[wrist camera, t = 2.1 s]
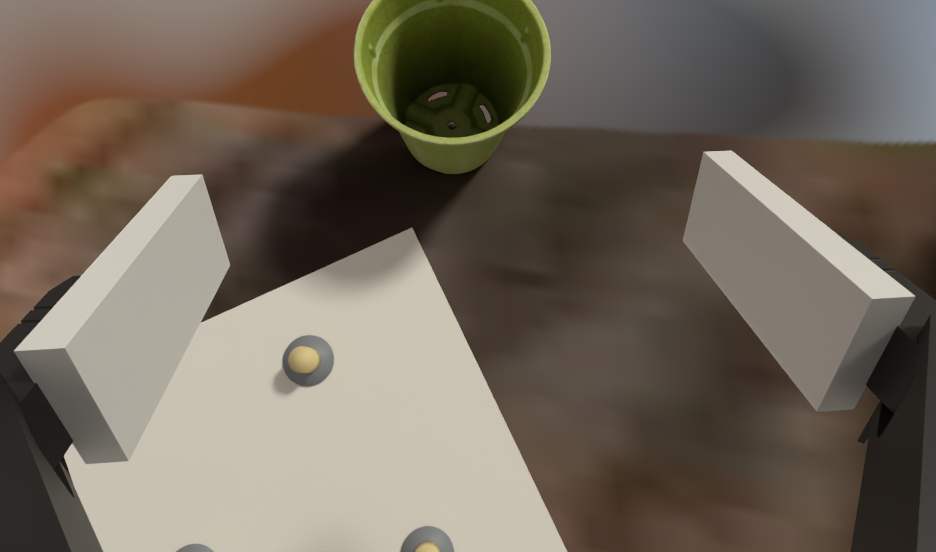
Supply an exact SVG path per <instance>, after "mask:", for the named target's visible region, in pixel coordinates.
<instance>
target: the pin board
mask: <svg viewBox="0 0 936 552" xmlns="http://www.w3.org/2000/svg"><path fill="white" fill-rule="evenodd" d="M64 458H65V461H66V464H67V467H68V470H69V473H70V476H71V479H72V481H73V484H74V487H75V490H76V492H77V494H78V496H79V498H80V501H81V503H82V505H83V507H84V510H85V512H86V514H87V516H88V519H89V521H90V523H91V525H92V528H93V530H94V532H95V534H96V536H97V539H98V541H99V543H100V545H101V548H102V550H103V552H567V550H566V548H565V546H564V544H563V542H562V540H561V538H560V536H559V534H558V531H557V529H556V527H555V525H554V523H553V521H552V519H551V517H550V515H549V513H548V511H547V508H546V506H545V504H544V502H543V500H542V498H541V496H540V494H539V492H538V490H537V488H536V485H535V483H534V481H533V479H532V477H531V475H530V473H529V471H528V469H527V467H526V465H525V462H524V460H523V458H522V456H521V454H520V452H519V450H518V448H517V446H516V444H515V442H514V439H513V437H512V435H511V433H510V431H509V429H508V427H507V425H506V423H505V421H504V419H503V416H502V414H501V412H500V410H499V408H498V406H497V404H496V402H495V400H494V398H493V396H492V393H491V391H490V389H489V387H488V385H487V383H486V381H485V379H484V377H483V375H482V373H481V370H480V368H479V366H478V364H477V362H476V360H475V358H474V356H473V354H472V352H471V350H470V347H469V345H468V343H467V341H466V339H465V337H464V335H463V333H462V331H461V329H460V327H459V324H458V322H457V320H456V318H455V316H454V314H453V312H452V310H451V308H450V306H449V304H448V301H447V299H446V297H445V295H444V293H443V291H442V289H441V287H440V285H439V283H438V281H437V278H436V276H435V274H434V272H433V270H432V268H431V266H430V264H429V262H428V260H427V258H426V255H425V253H424V251H423V249H422V247H421V245H420V243H419V241H418V239H417V237H416V235H415V232H414V230H413V228H410V229H408V230H405V231H403V232H401V233H399V234H397V235H394V236H392V237H390V238H388V239H385V240H383V241H381V242H379V243H377V244H374V245H372V246H370V247H368V248H366V249H363V250H361V251H359V252H357V253H355V254H352V255H350V256H348V257H346V258H344V259H341V260H339V261H337V262H335V263H332V264H330V265H328V266H326V267H324V268H321V269H319V270H317V271H315V272H313V273H310V274H308V275H306V276H304V277H302V278H299V279H297V280H295V281H293V282H290V283H288V284H286V285H284V286H282V287H279V288H277V289H275V290H273V291H271V292H268V293H266V294H264V295H262V296H260V297H257V298H255V299H253V300H251V301H248V302H246V303H244V304H242V305H240V306H237V307H235V308H233V309H231V310H229V311H226V312H224V313H222V314H220V315H218V316H215V317H213V318H211V319H209V320H206V321H204V322H202V323H200V324H199V326H198V328H197V330H196V332H195V334H194V336H193V338H192V340H191V342H190V344H189V346H188V348H187V350H186V352H185V353H184V355H183V357H182V359H181V361H180V363H179V365H178V367H177V369H176V371H175V373H174V375H173V377H172V379H171V381H170V382H169V384H168V386H167V388H166V390H165V392H164V394H163V396H162V398H161V400H160V402H159V404H158V406H157V408H156V410H155V411H154V413H153V415H152V417H151V419H150V421H149V423H148V425H147V427H146V429H145V431H144V433H143V435H142V437H141V439H140V440H139V442H138V444H137V446H136V448H135V450H134V452H133V454H132V456H131V458H130V460H129V461H124V462H110V463H96V464H85V462H84V461H83V459H82V458H81V456H80V455H79V453H78V451H77V450H76V448H75V447H74V445H73V444H71V446H70V447H69V449H68V450H67V452H66V453H65V455H64Z"/></svg>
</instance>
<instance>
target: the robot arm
mask: <svg viewBox="0 0 936 552" xmlns="http://www.w3.org/2000/svg"><path fill="white" fill-rule="evenodd" d="M683 242H684V243H685V244H686V246H687V247H688V248H689V249H690V251H691V252H692V253H693V254H694V256H695V257H696V258H697V260H698V261H699V262H700V263H701V265H702V266H703V267H704V269H705V270H706V271H707V272H708V274H709V275H710V276H711V277H712V279H713V280H714V281H715V283H716V284H717V285H718V286H719V288H720V289H721V290H722V291H723V293H724V294H725V295H726V297H727V298H728V299H729V300H730V302H731V303H732V304H733V305H734V307H735V308H736V309H737V311H738V312H739V313H740V314H741V316H742V317H743V318H744V320H745V321H746V322H747V323H748V325H749V326H750V327H751V328H752V330H753V331H754V332H755V334H756V335H757V336H758V337H759V339H760V340H761V341H762V342H763V344H764V345H765V346H766V348H767V349H768V350H769V351H770V353H771V354H772V355H773V357H774V358H775V359H776V360H777V362H778V363H779V364H780V365H781V367H782V368H783V369H784V371H785V372H786V373H787V374H788V376H789V377H790V378H791V379H792V381H793V382H794V383H795V385H796V386H797V387H798V388H799V390H800V391H801V392H802V394H803V395H804V396H805V397H806V399H807V400H808V401H809V402H810V404H811V405H812V406H813V408H814V409H815V410H816V411H817V412H822V411H836V410H850V409H855V407H856V405H857V403H858V401H859V400H860V398H861V396H862V394H863V392H864V390H865V389H866V387H867V386H868V388H869V389H870V390H871V391H872V392H873V393H874V394H875V395H876V396H877V397H878V398H879V399H880V400H881V401H880V403H879V404H878V406H877V408H876V409H875V411H874V413H873V415H872V416H871V418H870V420H869V422H868V423H867V425H866V427H865V429H864V430H863V432H862V434H861V436H860V437H859V439H858V442H861V443H863V444H864V443H865V441H866V440H867V439H868V437H869V440H868V446H867V453H866V459H865V465H864V471H863V478H862V484H861V490H860V497H859V503H858V509H857V516H856V522H855V528H854V535H853V541H852V547H851V552H936V300H934V299H933V298H932V297H931V296H929V295H928V294H927V293H925V292H924V291H923V290H921V289H920V288H919V287H917V286H916V285H915V284H914V283H912V282H911V281H910V280H908V279H907V278H906V277H904V276H903V275H902V274H901V273H899V272H898V271H894V268H893V267H891V266H890V265H889V264H888V263H886V262H885V261H884V260H880V257H878V256H877V255H876V254H875V253H873V252H872V251H871V250H869V249H868V248H867V247H865V246H864V245H863V244H861V243H859V242H857V241H854V240H852V239H850V238H848V237H846V236H844V235H842V234H839V233H835V232H834V231H832V230H831V229H830V228H829V227H827V226H826V225H825V224H824V223H822V222H821V221H820V220H818V219H817V218H816V217H815V216H813V215H812V214H811V213H810V212H808V211H807V210H806V209H805V208H803V207H802V206H801V205H800V204H798V203H797V202H796V201H794V200H793V199H792V198H791V197H789V196H788V195H787V194H786V193H784V192H783V191H782V190H781V189H779V188H778V187H777V186H775V185H774V184H773V183H772V182H770V181H769V180H768V179H767V178H765V177H764V176H763V175H762V174H760V173H759V172H758V171H757V170H755V169H754V168H753V167H751V166H750V165H749V164H748V163H746V162H745V161H744V160H743V159H741V158H740V157H739V156H738V155H736V154H735V153H734V152H732V151H712V152H703V156H702V161H701V165H700V169H699V174H698V178H697V182H696V186H695V191H694V195H693V199H692V203H691V208H690V212H689V216H688V221H687V225H686V229H685V233H684V238H683ZM229 266H230V263H229V260H228V257H227V253H226V250H225V247H224V244H223V240H222V237H221V234H220V231H219V227H218V224H217V221H216V218H215V214H214V211H213V208H212V205H211V201H210V198H209V195H208V192H207V188H206V185H205V182H204V179H203V175H182V176H171V177H170V178H169V179H168V180H167V181H166V183H165V184H164V185H163V186H162V187H161V188H160V189H159V190H158V191H157V193H156V194H155V195H154V196H153V197H152V198H151V199H150V200H149V201H148V203H147V204H146V205H145V206H144V207H143V208H142V209H141V210H140V211H139V212H138V214H137V215H136V216H135V217H134V218H133V219H132V220H131V221H130V222H129V224H128V225H127V226H126V227H125V228H124V229H123V230H122V231H121V232H120V234H119V235H118V236H117V237H116V238H115V239H114V240H113V241H112V242H111V244H110V245H109V246H108V247H107V248H106V249H105V250H104V251H103V252H102V254H101V255H100V256H99V257H98V258H97V259H96V260H95V261H94V262H93V264H92V265H91V266H90V267H89V268H88V269H87V270H86V271H85V272H84V274H83V275H82V276H72V277H71V278H69V279H68V280H66V281H64V282H63V283H61V284H60V285H58V286H56V287H55V288H53V289H52V290H50V291H49V292H48V293H47V294H46V295H45V296H44V297H43V298H42V299H41V300H40V301H39V302H38V303H37V304H36V306H35V307H34V310H31V311H30V312H29V313H28V314H27V315H26V316H25V317H24V318H23V319H22V320H21V324H17V326H16V327H15V328H14V329H13V330H12V331H11V332H10V333H9V334H8V335H7V336H6V337H5V338H4V339H3V340H2V341H1V342H0V552H103V550H102V548H101V545H100V543H99V541H98V539H97V536H96V534H95V532H94V530H93V528H92V525H91V523H90V521H89V519H88V516H87V514H86V512H85V510H84V507H83V505H82V503H81V501H80V498H79V496H78V494H77V492H76V490H75V487H74V485H73V483H72V481H71V478H70V476H69V474H68V472H67V471H66V469H65V468H64V466H63V465H62V463H61V462H60V461H61V460H62V458H63V457H64V455H65V453H66V452H67V450H68V449H69V447H70V446H71V444H73V445H74V447H75V448H76V450H77V451H78V453H79V455H80V456H81V458H82V459H83V461H84V462H85V464H96V463H110V462H124V461H129V460H130V458H131V456H132V454H133V452H134V450H135V448H136V446H137V444H138V442H139V440H140V439H141V437H142V435H143V433H144V431H145V429H146V427H147V425H148V423H149V421H150V419H151V417H152V415H153V413H154V411H155V410H156V408H157V406H158V404H159V402H160V400H161V398H162V396H163V394H164V392H165V390H166V388H167V386H168V384H169V382H170V381H171V379H172V377H173V375H174V373H175V371H176V369H177V367H178V365H179V363H180V361H181V359H182V357H183V355H184V353H185V352H186V350H187V348H188V346H189V344H190V342H191V340H192V338H193V336H194V334H195V332H196V330H197V328H198V326H199V324H200V323H201V321H202V319H203V317H204V315H205V313H206V311H207V309H208V307H209V305H210V303H211V301H212V299H213V297H214V295H215V294H216V292H217V290H218V288H219V286H220V284H221V282H222V280H223V278H224V276H225V274H226V272H227V270H228V268H229Z"/></svg>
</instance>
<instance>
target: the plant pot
mask: <svg viewBox="0 0 936 552" xmlns="http://www.w3.org/2000/svg"><path fill="white" fill-rule="evenodd" d="M550 62H551V48H550V40H549V35H548V32H547V28H546V25H545V23H544V21H543V19H542V18H541V15H540V14H539V12H538V10H537V8H536V7H535V5H534V4H533V3H532V1H531V0H373V1H372V2H371V3H370V5H369V7H368V8H367V9H366V11H365V13H364V15H363V16H362V19H361V21H360V23H359V26H358V29H357V33H356V37H355V43H354V64H355V70H356V74H357V78H358V81H359V84H360V86H361V88H362V91H363V93H364V95H365V96H366V98H367V100H368V102H369V103H370V105H371V106H372V107H373V109H374V110H375V111H376V112H377V113H378V115H379V116H380V117H381V118H382V119H383V120H384V121H386V122H387V123H388V124H389V125H391V126H392V127H393V128H395V129H396V130H398V131H399V133H400V134H401V136H402V138H403V140H404V142H405V144H406V145H407V147H408V149H409V151H410V152H411V154H412V155H413V156H414V157H415V158H416V160H418V161H419V162H420V163H421V164H422V165H424V166H426V167H428V168H430V169H433V170H435V171H438V172H441V173H445V174H461V173H466V172H469V171H471V170H474V169H476V168H477V167H479V166H481V165H482V164H483V163H485V162H486V161H487V160H488V159H489V158H490V157H491V155H492V154H493V153H494V151H495V150H496V148H497V146H498V144H499V142H500V140H501V138H502V137H503V135H504V133H505V131H507V130H508V129H510V128H511V127H512V126H514V125H515V124H516V123H517V122H519V121H520V120H521V119H522V118H523V117H524V116H525V115H526V114H527V113H528V112H529V111H530V110H531V109H532V107H533V106H534V104H535V103H536V102H537V100H538V98H539V97H540V95H541V93H542V91H543V88H544V86H545V84H546V81H547V77H548V73H549V69H550ZM438 92H447V96H443V97H440V98H437V99H434V100H431V101H430V102H428V101H427V100H428V99H429V97H431V96H432V95H434V94H436V93H438ZM480 105H484V106H485V107H486V109H487V110H488V112H489V114H490V117H491V122H490V123H487V121H486V119H485V116H484V113H483V111H482V110H481V108H480ZM450 122H454V123H455V124H456V128H455V129H449V127H448V124H449V123H450Z"/></svg>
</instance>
